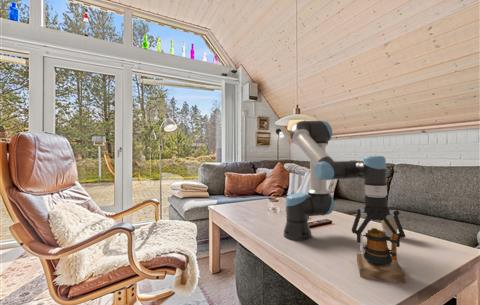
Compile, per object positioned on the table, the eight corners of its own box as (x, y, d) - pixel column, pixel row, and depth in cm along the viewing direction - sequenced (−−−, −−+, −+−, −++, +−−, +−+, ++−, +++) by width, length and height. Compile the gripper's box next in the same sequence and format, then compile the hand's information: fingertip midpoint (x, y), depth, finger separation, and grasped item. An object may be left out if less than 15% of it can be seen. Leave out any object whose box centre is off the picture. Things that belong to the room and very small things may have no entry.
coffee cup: (404, 240, 119) (402, 211, 119) (383, 239, 121) (382, 210, 121) (395, 234, 128) (394, 207, 128) (376, 233, 130) (375, 206, 130)
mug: (357, 256, 92) (355, 227, 92) (372, 251, 97) (371, 223, 97) (391, 270, 81) (390, 237, 81) (407, 263, 85) (405, 231, 86)
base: (360, 276, 85) (360, 268, 85) (356, 260, 98) (356, 253, 98) (405, 283, 80) (405, 274, 80) (395, 265, 93) (395, 257, 93)
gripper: (343, 196, 90) (345, 253, 90) (414, 198, 82) (417, 261, 82) (343, 193, 97) (344, 245, 97) (408, 195, 89) (410, 253, 89)
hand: (377, 253), depth 89 cm, fingers closed on mug, 10 cm apart
